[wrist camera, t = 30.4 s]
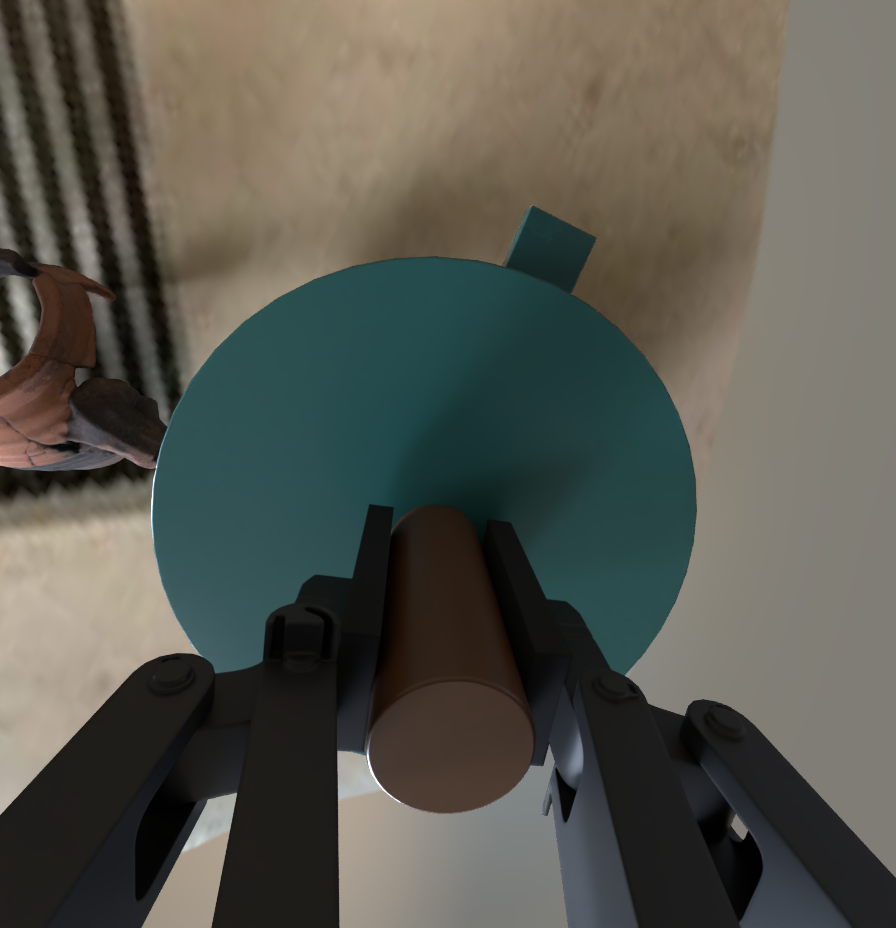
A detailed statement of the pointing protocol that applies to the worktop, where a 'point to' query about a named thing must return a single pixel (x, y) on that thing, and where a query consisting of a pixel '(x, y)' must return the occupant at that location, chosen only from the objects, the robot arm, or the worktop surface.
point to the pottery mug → (69, 386)
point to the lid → (427, 495)
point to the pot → (549, 249)
